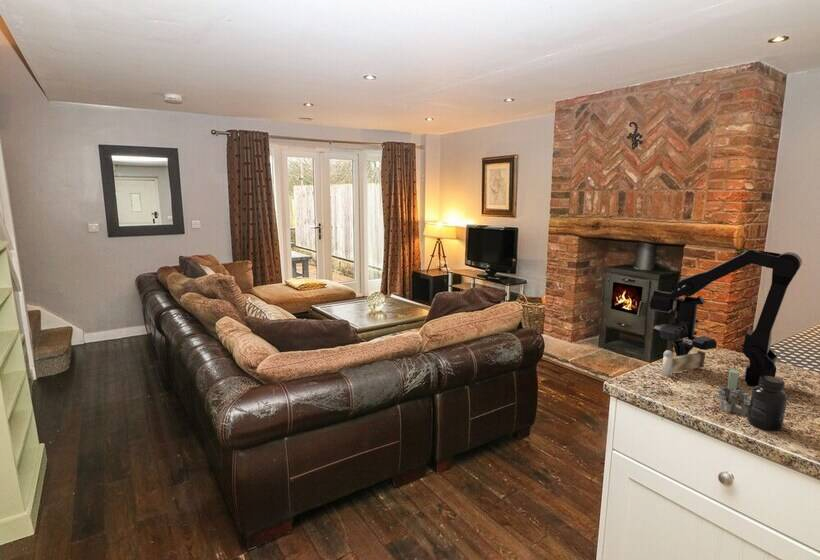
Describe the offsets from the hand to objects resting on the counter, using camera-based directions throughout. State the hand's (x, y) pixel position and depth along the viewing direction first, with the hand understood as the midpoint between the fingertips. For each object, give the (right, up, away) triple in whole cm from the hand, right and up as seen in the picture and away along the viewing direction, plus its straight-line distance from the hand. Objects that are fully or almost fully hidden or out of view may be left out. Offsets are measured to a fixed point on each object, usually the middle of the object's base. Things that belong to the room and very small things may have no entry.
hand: (680, 361), depth 151 cm
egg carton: (-2, -7, -28) cm, 29 cm away
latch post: (+5, -5, -16) cm, 18 cm away
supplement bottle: (-2, -9, -38) cm, 39 cm away
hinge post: (-9, -3, -7) cm, 12 cm away
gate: (-1, -2, -4) cm, 5 cm away
